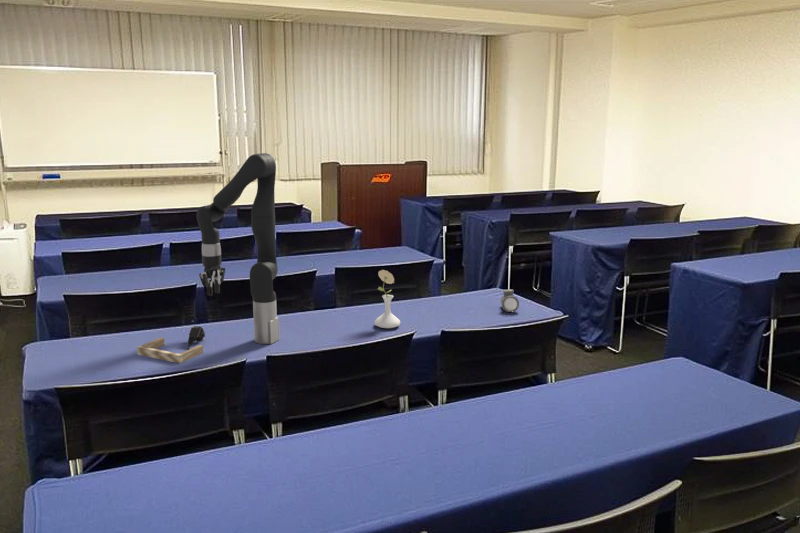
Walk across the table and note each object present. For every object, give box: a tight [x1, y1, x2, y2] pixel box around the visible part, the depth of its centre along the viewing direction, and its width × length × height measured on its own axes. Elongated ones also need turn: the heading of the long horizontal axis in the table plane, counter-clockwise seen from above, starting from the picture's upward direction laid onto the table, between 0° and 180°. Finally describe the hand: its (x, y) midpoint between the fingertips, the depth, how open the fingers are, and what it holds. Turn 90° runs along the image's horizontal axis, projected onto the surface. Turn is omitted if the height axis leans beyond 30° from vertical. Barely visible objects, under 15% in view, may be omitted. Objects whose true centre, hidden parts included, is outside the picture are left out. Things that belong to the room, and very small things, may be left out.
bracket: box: [136, 337, 204, 364], centre depth 246 cm, size 21×12×3 cm, turn 66°
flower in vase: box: [374, 269, 401, 329], centre depth 280 cm, size 13×11×25 cm
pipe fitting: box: [500, 288, 520, 313], centre depth 309 cm, size 12×8×10 cm
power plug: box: [186, 325, 206, 351], centre depth 257 cm, size 6×8×12 cm
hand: (213, 294), depth 266 cm, fingers open, 3 cm apart
